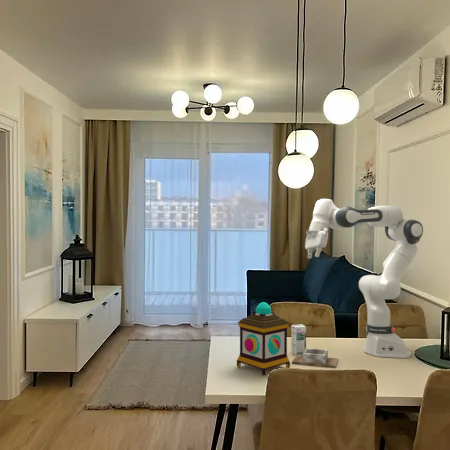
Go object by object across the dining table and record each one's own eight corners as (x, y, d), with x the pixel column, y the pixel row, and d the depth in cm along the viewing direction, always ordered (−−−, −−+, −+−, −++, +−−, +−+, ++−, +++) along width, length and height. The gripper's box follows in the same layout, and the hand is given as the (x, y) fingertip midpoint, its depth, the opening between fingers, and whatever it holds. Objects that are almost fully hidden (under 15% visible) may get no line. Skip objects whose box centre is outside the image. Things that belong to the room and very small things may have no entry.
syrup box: (295, 356, 238) (295, 326, 238) (291, 352, 243) (291, 324, 243) (306, 355, 239) (306, 326, 239) (301, 352, 245) (301, 323, 245)
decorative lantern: (262, 359, 231) (263, 297, 231) (294, 369, 216) (294, 302, 216) (232, 367, 218) (232, 301, 218) (263, 378, 203) (264, 307, 203)
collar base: (338, 360, 230) (338, 350, 230) (335, 368, 218) (335, 357, 218) (296, 356, 236) (296, 346, 236) (291, 363, 224) (291, 353, 224)
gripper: (333, 229, 226) (327, 257, 223) (316, 234, 246) (311, 260, 243) (320, 225, 225) (315, 254, 222) (305, 231, 245) (299, 257, 242)
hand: (313, 257), depth 233 cm, fingers open, 8 cm apart
